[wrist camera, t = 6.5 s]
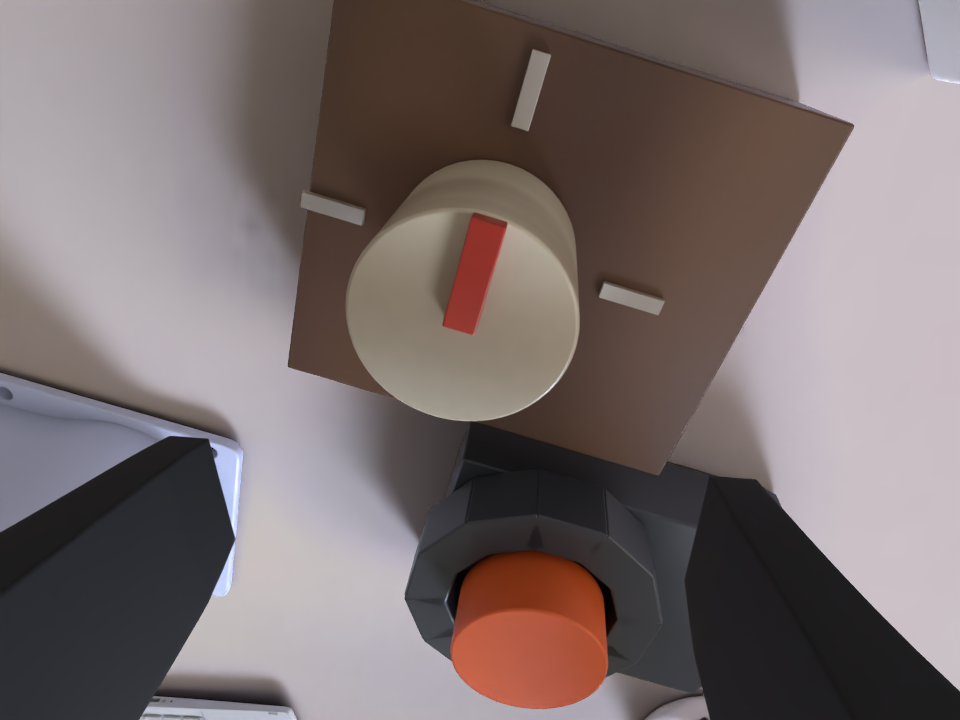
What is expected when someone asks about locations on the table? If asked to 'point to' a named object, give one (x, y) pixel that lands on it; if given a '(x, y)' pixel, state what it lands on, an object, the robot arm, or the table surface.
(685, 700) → the silver metal cup
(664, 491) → the button housing
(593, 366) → the dial panel
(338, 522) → the table surface
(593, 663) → the orange button
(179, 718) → the laptop
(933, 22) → the milk
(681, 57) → the table surface
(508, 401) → the dial
